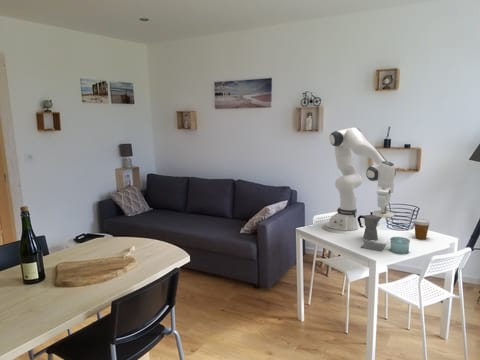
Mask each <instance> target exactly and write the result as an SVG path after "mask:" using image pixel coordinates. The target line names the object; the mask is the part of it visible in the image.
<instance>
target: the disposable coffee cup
mask: <svg viewBox="0 0 480 360" xmlns="http://www.w3.org/2000/svg"><path fill="white" fill-rule="evenodd" d="M413 223H414V235H415V237H414V238H416V240H421V241H422V240H427V235H428V231H429V227H430V224H431V223H430V220H428V219H425V218H415V219H414V220H413Z"/></svg>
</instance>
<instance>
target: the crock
mask: <svg viewBox="0 0 480 360" xmlns="http://www.w3.org/2000/svg"><path fill="white" fill-rule="evenodd" d="M410 242H411V239H408V238H407V237H403V236H392V237H390V249H389V250H390V251H391V252H392V253H395V254H398V255H407V254H409V252H410Z"/></svg>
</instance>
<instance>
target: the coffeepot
mask: <svg viewBox="0 0 480 360" xmlns="http://www.w3.org/2000/svg"><path fill="white" fill-rule="evenodd" d="M373 212H374V211H370V214H365V215H363V214H362V215H358V216H357V217H356V220H357V223H358V225H359V227H360V228H364V226H365V229H364V232H363V239H364V240H365V241H370V240H375V241H377V240H378V238H379V237H378V229H377V227H378V223H379V222H380V220H381V219H383V217H378V216H375V215H374V214H373ZM361 219H363V220H364V221H363V222H364V225H362V223H361V221H362V220H361Z"/></svg>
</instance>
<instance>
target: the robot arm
mask: <svg viewBox="0 0 480 360" xmlns="http://www.w3.org/2000/svg"><path fill="white" fill-rule="evenodd" d="M329 142H330V144H331V145H332V146H333V147H334V155H335V160H336V166H337V169H338V170H340V172H341V174H342V175H341V176H339V177H338V178H337V179H336V180H335V183H334V184H335V185H334V186H335V188H336V190H337V191H338V193H339V199H340V205H339V207H338V208H337V210H336V211H337V212H336V213H335V214H333V215H332V216H330V218H329V221H328V222H326V224H325V227H326V228H329V229H330V228H331V229H334V230H339V231H343V232H345V231H354V230H357V229H358V228H359V226H358V220H357V217H358V215H357V214H358V211H357V209H358V208H357V197H356V196H355V192H354V189H355V190H356V189H357V188H359V187H360V186H361V185H362V184H363V178H362V176H361V175H360V174H359V173H358V171H357V169H356V167H355V165H354V160H353V159H354V158H353V155H352V153H354V154H355V155H358V156H362V157H367V158H369V159H371V160H373V161H374V163H375V165H374V164H373V165H369V166H368V168H366V171H365V173H366V174H365V175H366V177H367V179H368V180H369V181H371V182H377V190H376V194H377V207H378V208H380V210H381V212H383V213H384V212H385V206H386V207H387V206H388V204H389V203H390V201H391V195H392V193H394V185H395V183H394V180H395V177H396V175H397V174H396V173H397V172H396V171H397V170H396V168H395V164H394V163H393V162H391V161H387V160H386V158H385V157H384V156H383V155H382V153H381V152H380V151H379V150H378V149H377V148H376V147H375V146H373V145H372V144H371V143H370V142H369V141H368V140H367V139H366V138H365V136H364V134H363V133H362V131H361V130H360V129H359V128H358V127H349V128H343V129H340V130H337V131H336V130H335V131H332V132H331V133H330V135H329Z"/></svg>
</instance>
